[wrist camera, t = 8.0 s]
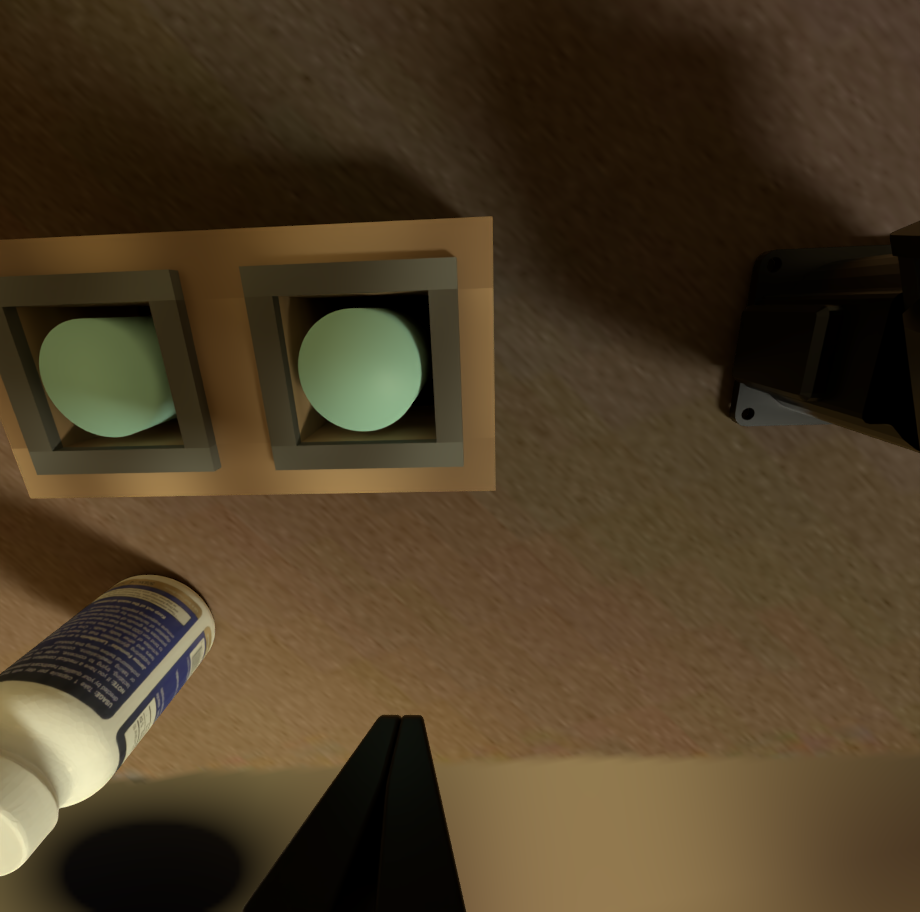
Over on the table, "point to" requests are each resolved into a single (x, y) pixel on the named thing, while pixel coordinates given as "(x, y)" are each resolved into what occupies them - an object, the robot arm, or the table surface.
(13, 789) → the pill bottle
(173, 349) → the socket block
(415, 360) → the plunger
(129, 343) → the plunger
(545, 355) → the table surface
